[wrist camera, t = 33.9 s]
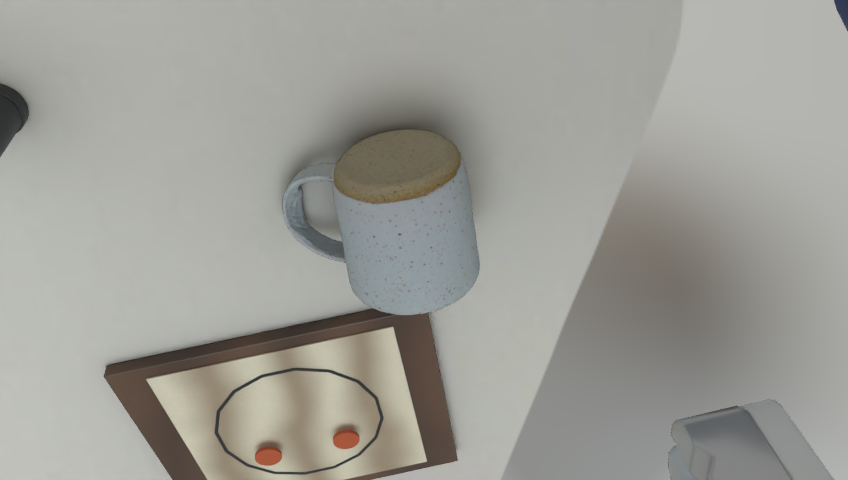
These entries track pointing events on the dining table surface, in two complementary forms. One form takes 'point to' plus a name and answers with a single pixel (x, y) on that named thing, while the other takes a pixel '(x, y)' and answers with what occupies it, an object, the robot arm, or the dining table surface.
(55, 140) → the dining table surface
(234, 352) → the brown framed board
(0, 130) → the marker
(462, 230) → the ceramic mug
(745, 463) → the robot arm
